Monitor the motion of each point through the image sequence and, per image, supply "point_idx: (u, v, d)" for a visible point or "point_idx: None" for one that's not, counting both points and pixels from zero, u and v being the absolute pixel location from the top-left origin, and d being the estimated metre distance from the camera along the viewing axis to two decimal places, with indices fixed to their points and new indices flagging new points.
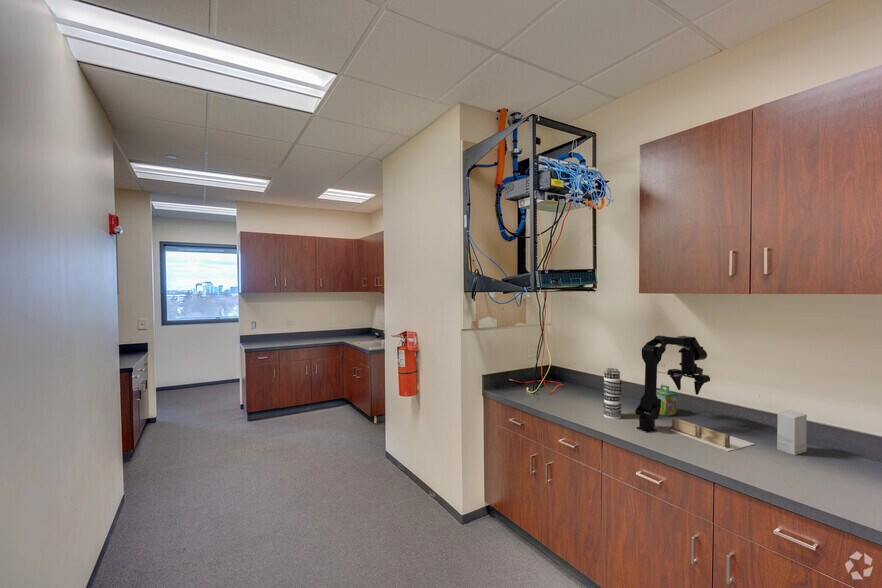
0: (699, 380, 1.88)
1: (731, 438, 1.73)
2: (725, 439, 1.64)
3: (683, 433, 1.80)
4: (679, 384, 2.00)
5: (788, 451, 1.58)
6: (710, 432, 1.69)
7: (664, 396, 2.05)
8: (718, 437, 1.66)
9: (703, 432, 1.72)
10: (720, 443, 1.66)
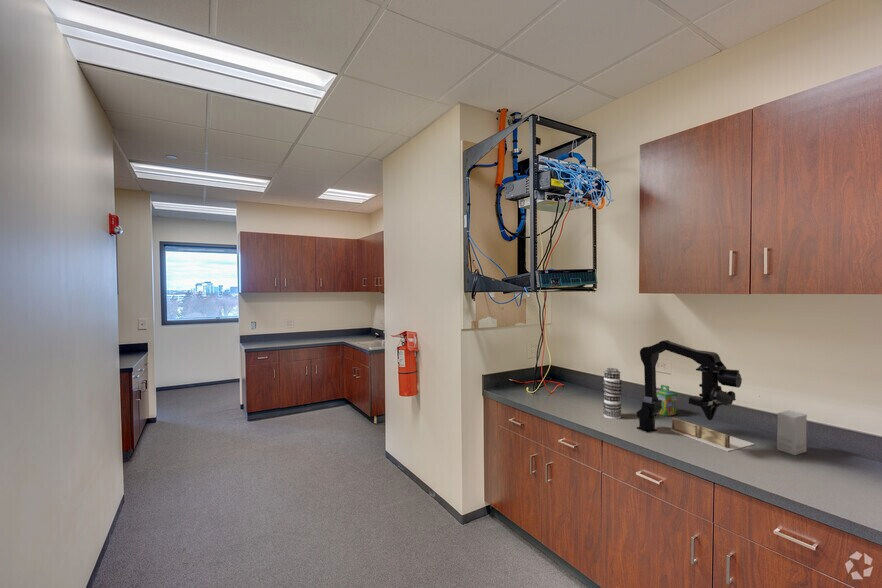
0: None
1: (731, 438, 1.73)
2: (725, 439, 1.64)
3: (683, 433, 1.80)
4: None
5: (788, 451, 1.58)
6: (710, 432, 1.69)
7: (664, 396, 2.05)
8: (718, 437, 1.66)
9: (703, 432, 1.72)
10: (720, 443, 1.66)
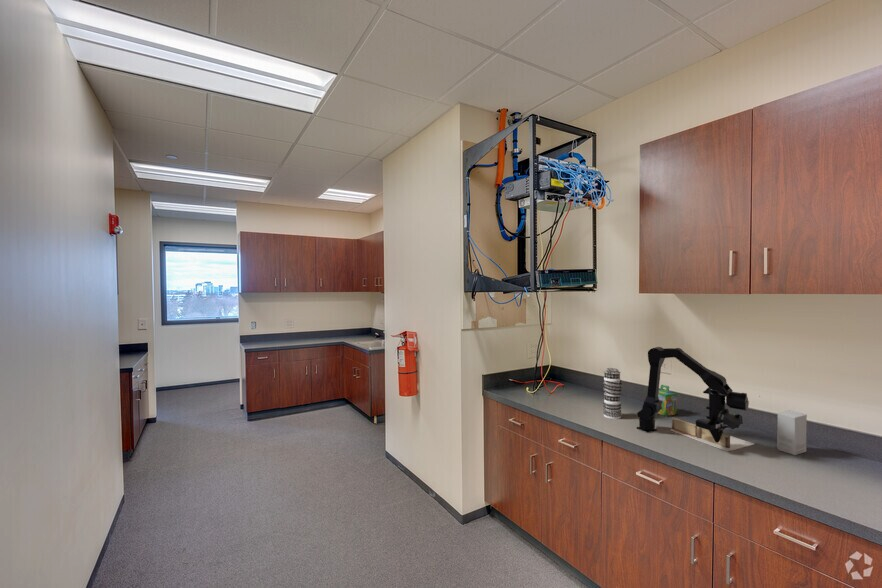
0: None
1: (731, 438, 1.73)
2: (725, 439, 1.64)
3: (683, 433, 1.80)
4: None
5: (788, 451, 1.58)
6: None
7: (664, 396, 2.05)
8: None
9: (703, 432, 1.72)
10: (720, 443, 1.66)
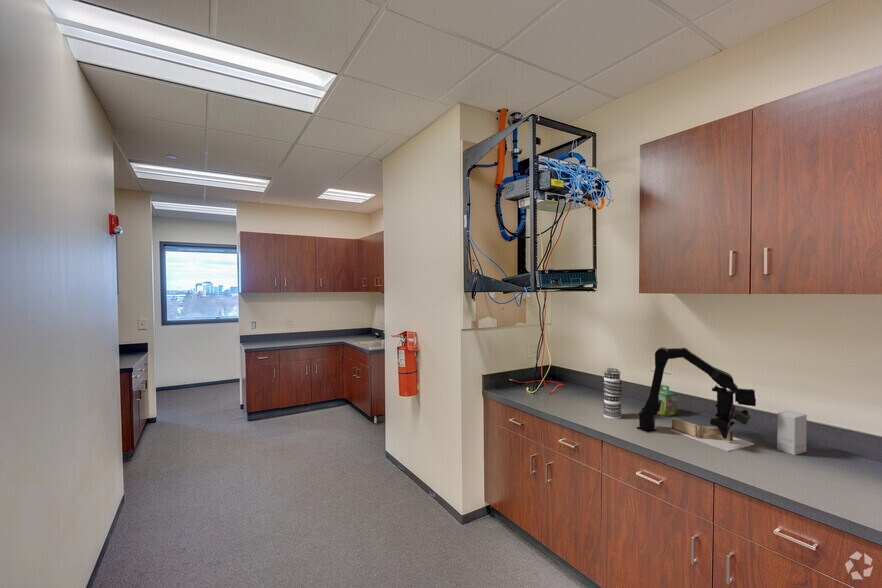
0: None
1: None
2: (729, 433, 1.70)
3: (683, 433, 1.80)
4: None
5: (788, 451, 1.58)
6: (714, 429, 1.72)
7: (664, 396, 2.05)
8: None
9: (705, 431, 1.73)
10: None
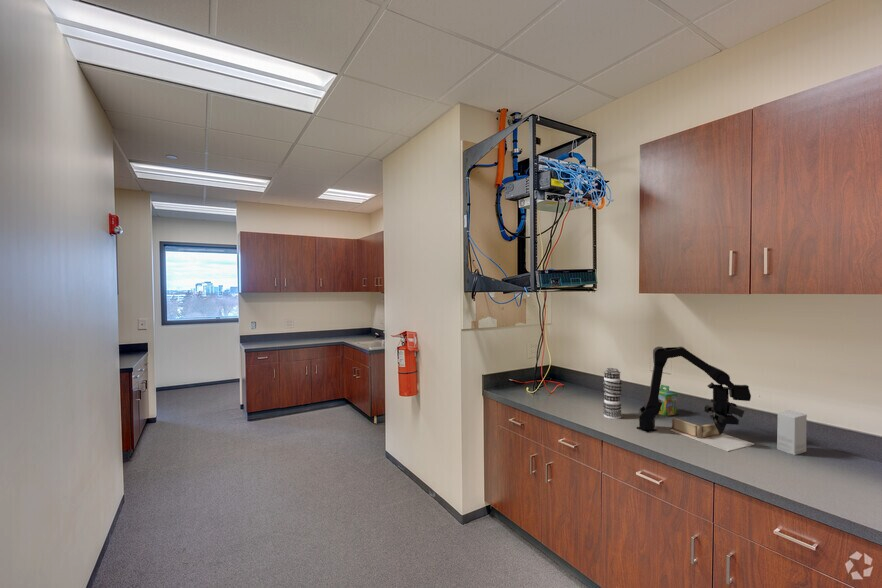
0: (721, 421, 1.67)
1: (731, 438, 1.73)
2: None
3: (683, 433, 1.80)
4: None
5: (788, 451, 1.58)
6: (709, 426, 1.76)
7: (664, 396, 2.05)
8: (714, 428, 1.77)
9: (704, 430, 1.75)
10: (715, 433, 1.77)
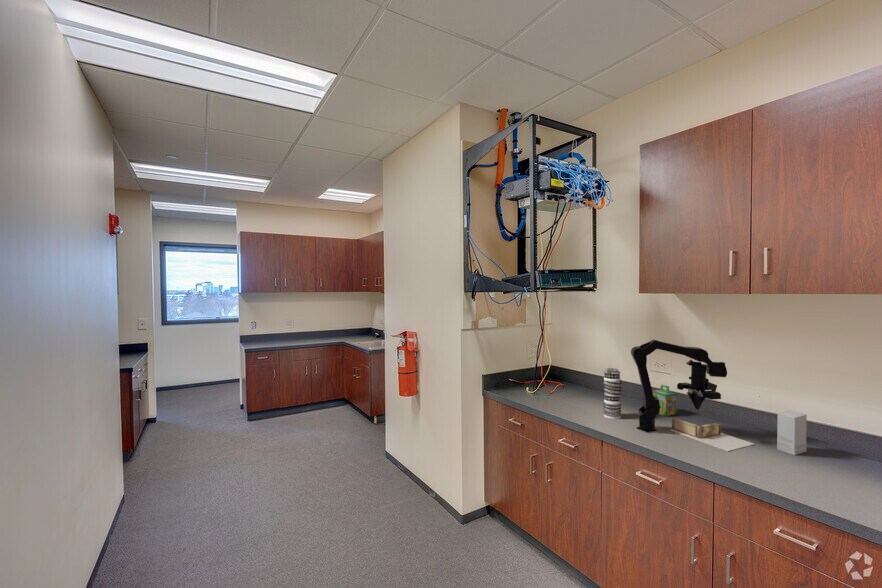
0: (707, 397, 1.71)
1: (731, 438, 1.73)
2: (719, 427, 1.78)
3: (683, 433, 1.80)
4: None
5: (788, 451, 1.58)
6: (709, 426, 1.76)
7: (664, 396, 2.05)
8: (714, 428, 1.77)
9: (704, 430, 1.75)
10: (715, 433, 1.77)
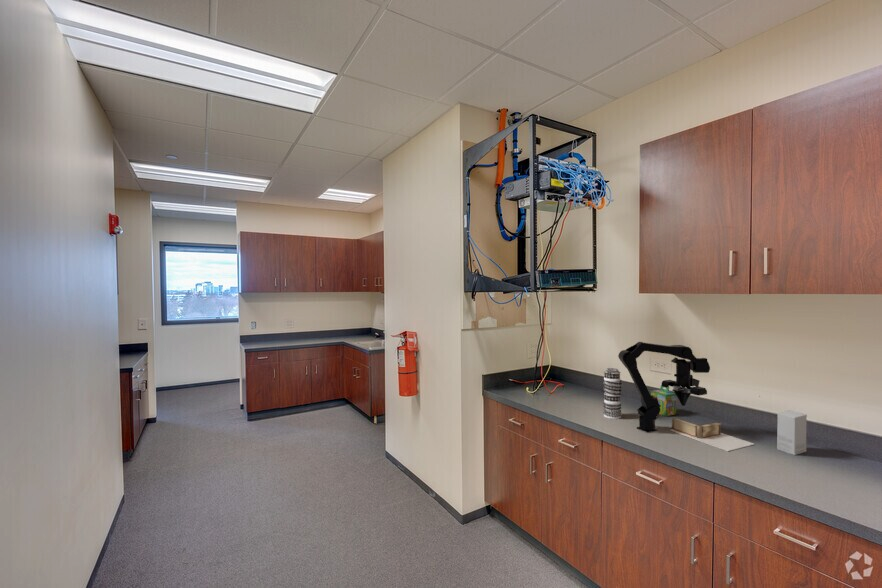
0: (695, 393, 1.75)
1: (731, 438, 1.73)
2: (719, 427, 1.78)
3: (683, 433, 1.80)
4: None
5: (788, 451, 1.58)
6: (709, 426, 1.76)
7: (664, 396, 2.05)
8: (714, 428, 1.77)
9: (704, 430, 1.75)
10: (715, 433, 1.77)
